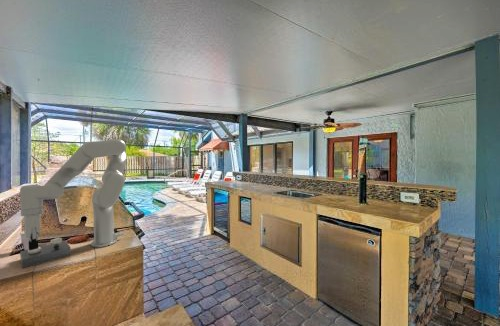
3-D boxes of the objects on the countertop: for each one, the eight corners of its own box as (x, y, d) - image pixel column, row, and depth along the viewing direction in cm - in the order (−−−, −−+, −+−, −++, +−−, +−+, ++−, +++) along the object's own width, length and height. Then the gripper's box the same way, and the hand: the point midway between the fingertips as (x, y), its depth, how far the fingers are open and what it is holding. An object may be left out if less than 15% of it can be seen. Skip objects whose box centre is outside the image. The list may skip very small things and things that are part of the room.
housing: (65, 247, 120) (65, 240, 119) (70, 254, 112) (70, 247, 111) (20, 259, 107) (20, 251, 106) (22, 268, 99) (22, 259, 99)
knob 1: (40, 254, 109) (40, 245, 109) (41, 257, 106) (41, 248, 106) (27, 258, 106) (27, 248, 106) (28, 261, 103) (28, 251, 103)
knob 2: (61, 245, 115) (61, 237, 115) (63, 248, 112) (62, 239, 112) (50, 248, 112) (49, 239, 112) (51, 251, 109) (51, 242, 109)
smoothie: (27, 252, 114) (25, 226, 113) (17, 251, 115) (16, 225, 114) (41, 247, 120) (39, 222, 119) (31, 246, 121) (30, 221, 120)
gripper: (19, 209, 107) (21, 246, 108) (22, 216, 97) (23, 256, 98) (40, 206, 112) (42, 242, 113) (45, 212, 103) (46, 251, 104)
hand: (33, 248), depth 106 cm, fingers closed
